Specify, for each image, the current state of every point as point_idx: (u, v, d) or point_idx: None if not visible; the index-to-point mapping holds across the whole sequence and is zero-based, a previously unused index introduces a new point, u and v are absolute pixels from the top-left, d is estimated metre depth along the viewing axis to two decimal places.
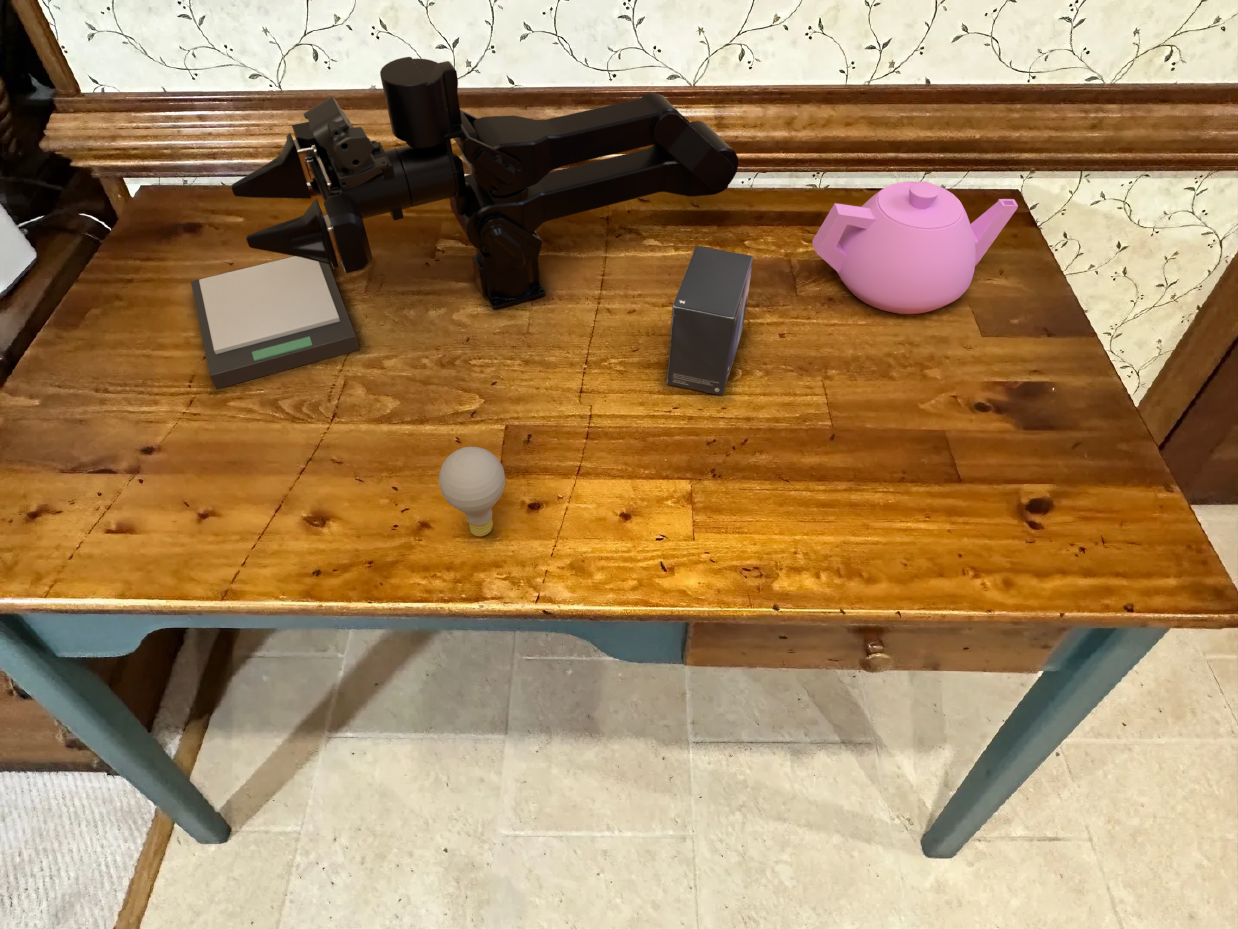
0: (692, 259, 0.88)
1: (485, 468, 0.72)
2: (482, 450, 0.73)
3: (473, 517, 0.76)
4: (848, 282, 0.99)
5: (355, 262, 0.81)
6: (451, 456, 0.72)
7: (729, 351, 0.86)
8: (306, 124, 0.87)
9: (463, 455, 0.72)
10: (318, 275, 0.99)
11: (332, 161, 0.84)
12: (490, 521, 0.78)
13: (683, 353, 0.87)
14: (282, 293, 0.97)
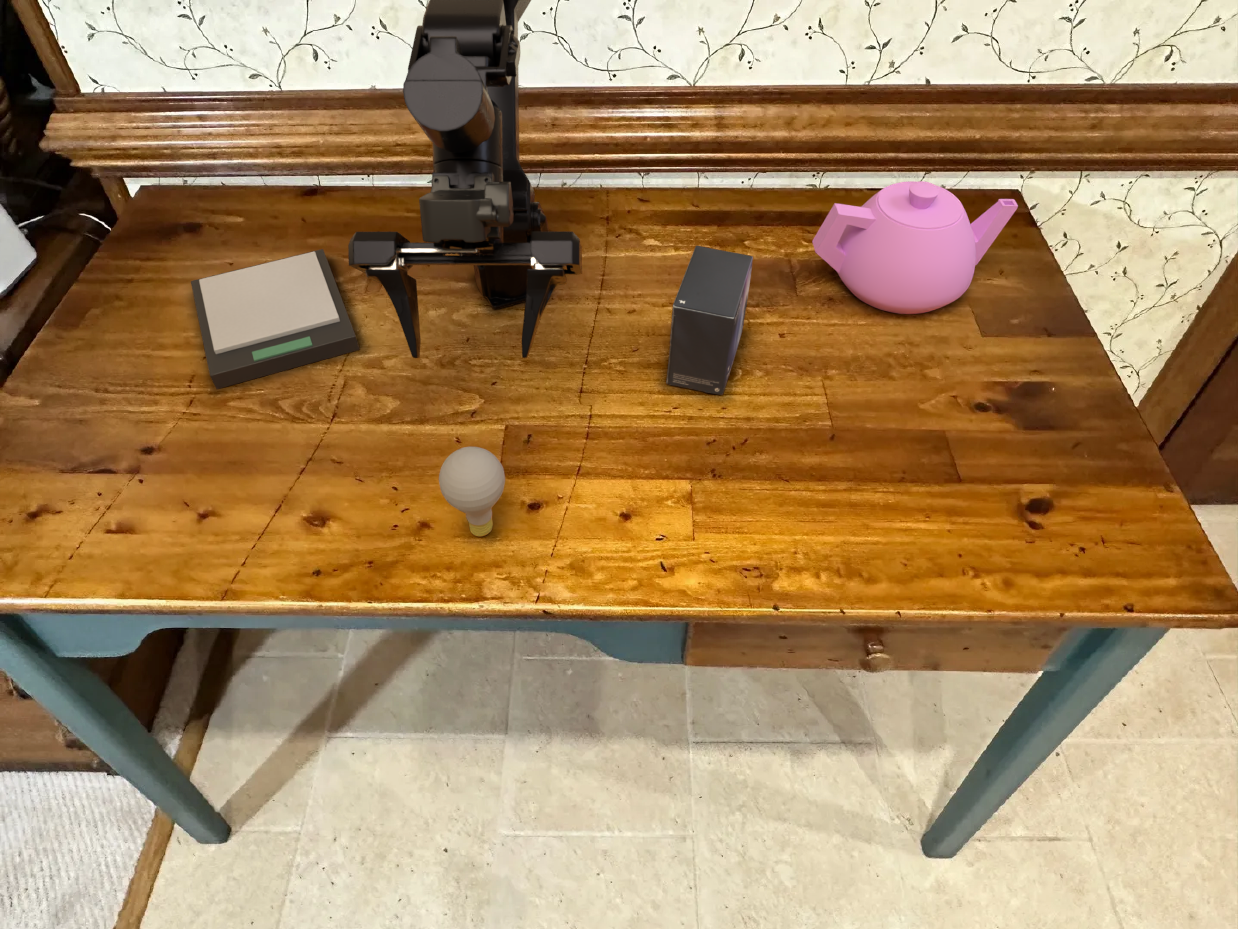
0: (692, 259, 0.88)
1: (485, 468, 0.72)
2: (482, 450, 0.73)
3: (473, 517, 0.76)
4: (848, 282, 0.99)
5: (581, 259, 0.75)
6: (451, 456, 0.72)
7: (729, 351, 0.86)
8: (360, 247, 0.70)
9: (463, 455, 0.72)
10: (318, 275, 0.99)
11: None
12: (490, 521, 0.78)
13: (683, 353, 0.87)
14: (282, 293, 0.97)
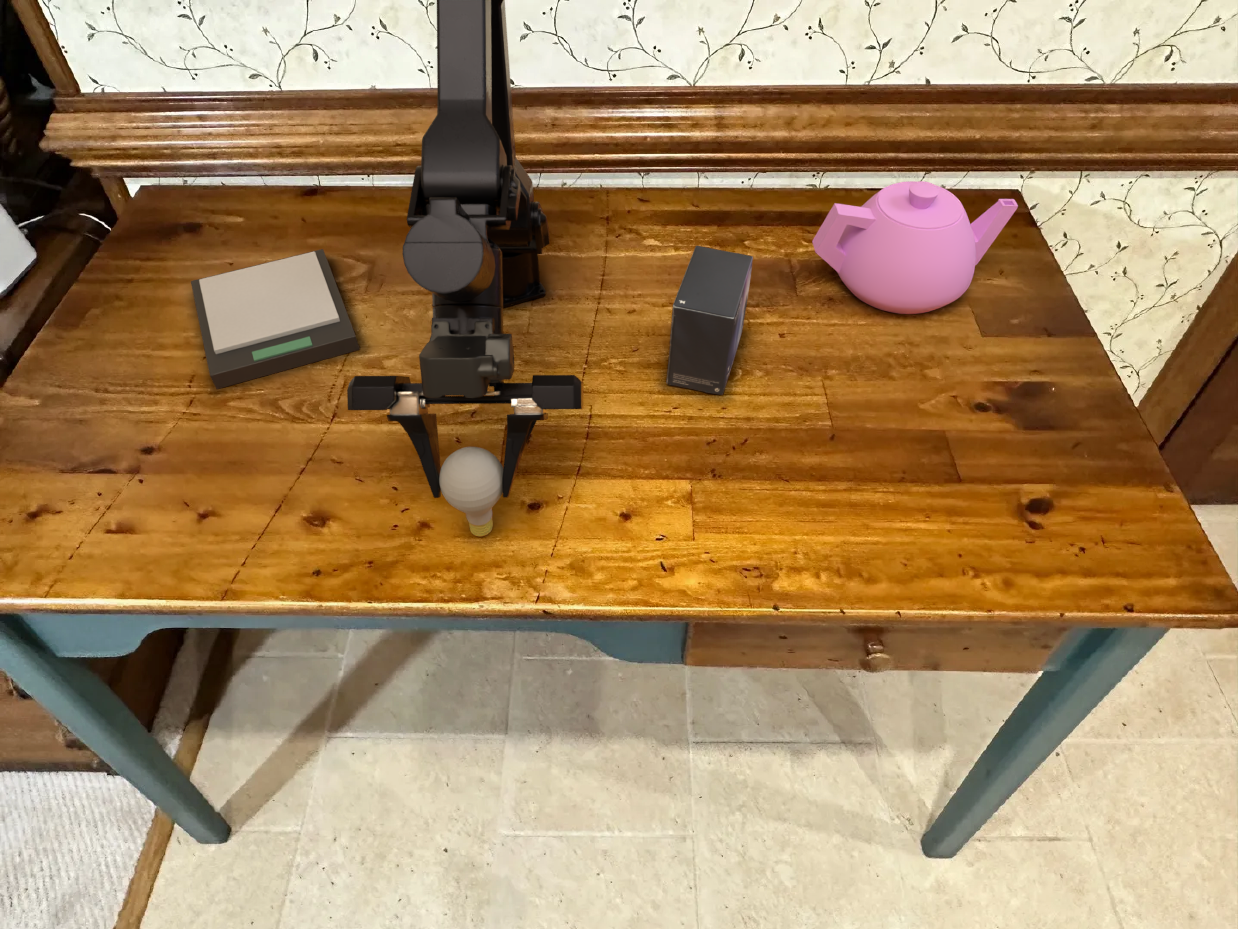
0: (692, 259, 0.88)
1: (485, 468, 0.72)
2: (482, 450, 0.73)
3: (473, 517, 0.76)
4: (848, 282, 0.99)
5: None
6: (451, 456, 0.72)
7: (729, 351, 0.86)
8: (359, 393, 0.70)
9: (463, 455, 0.72)
10: (318, 275, 0.99)
11: None
12: (490, 521, 0.78)
13: (683, 353, 0.87)
14: (282, 293, 0.97)
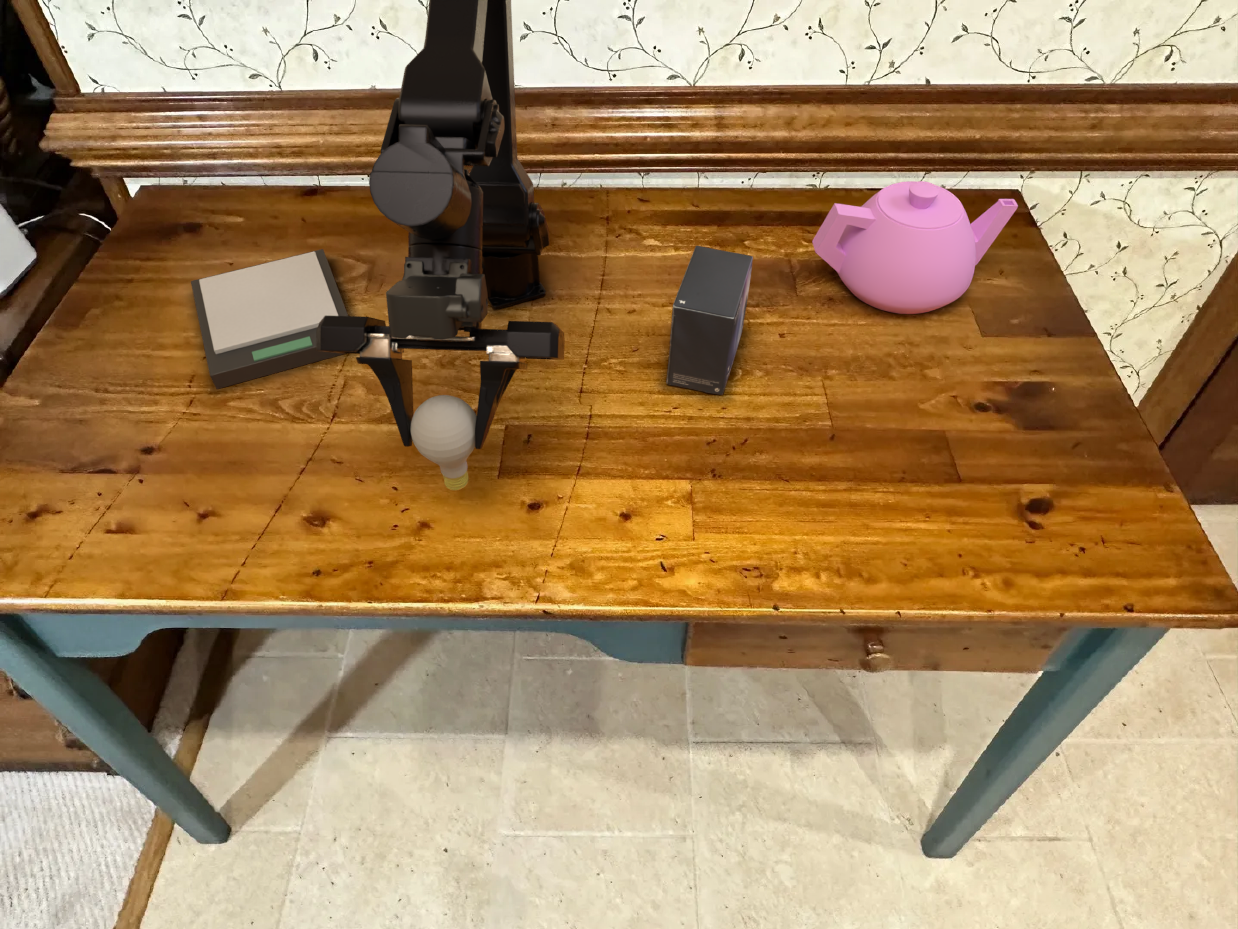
0: (692, 259, 0.88)
1: (457, 417, 0.69)
2: (456, 399, 0.70)
3: (446, 469, 0.73)
4: (848, 282, 0.99)
5: (563, 346, 0.71)
6: (423, 404, 0.70)
7: (729, 351, 0.86)
8: (328, 333, 0.67)
9: (435, 403, 0.69)
10: (318, 275, 0.99)
11: None
12: (465, 475, 0.75)
13: (683, 353, 0.87)
14: (282, 293, 0.97)
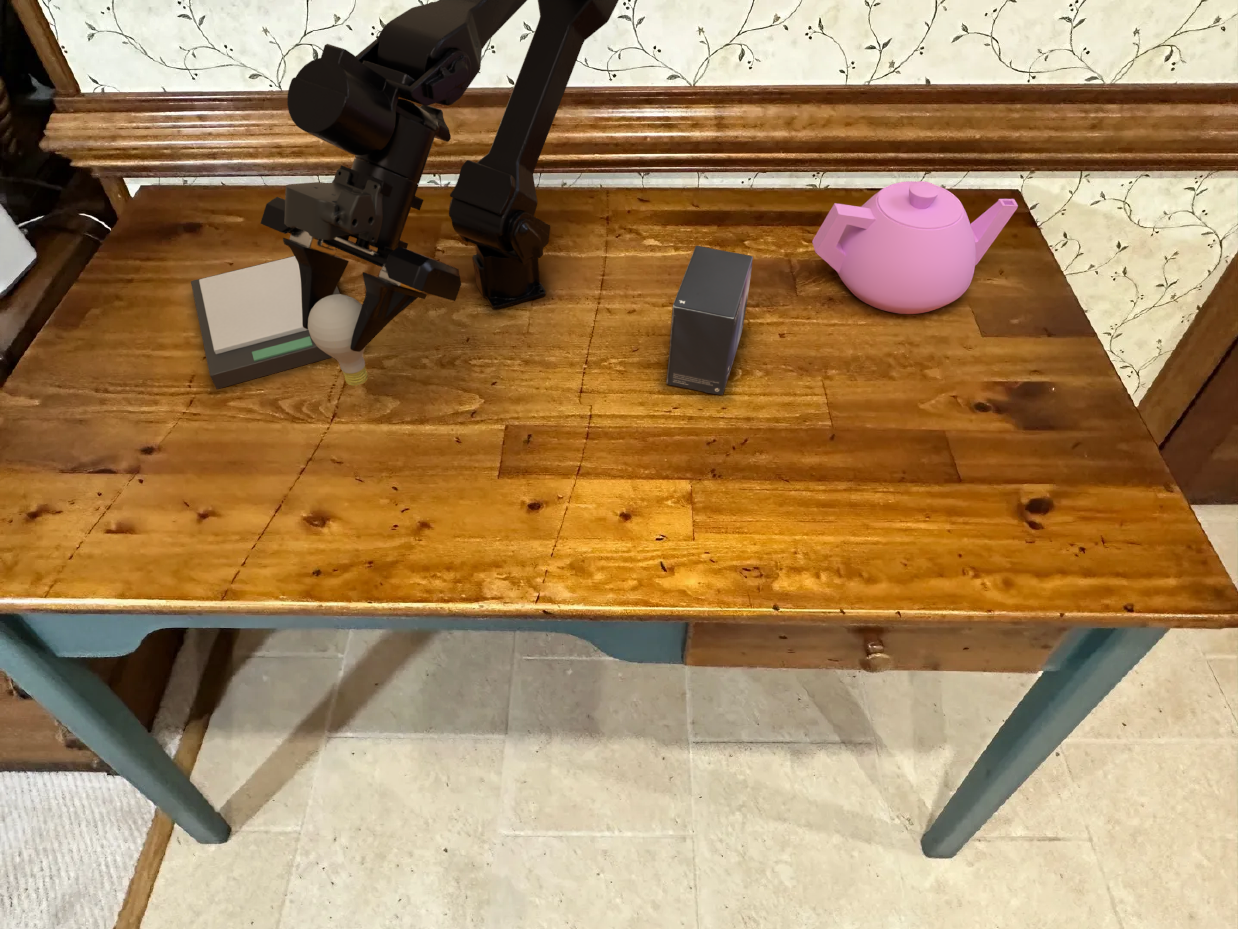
0: (692, 259, 0.88)
1: (340, 315, 0.77)
2: (352, 302, 0.78)
3: (339, 362, 0.82)
4: (848, 282, 0.99)
5: (453, 288, 0.76)
6: (326, 296, 0.79)
7: (729, 351, 0.86)
8: (269, 211, 0.78)
9: (331, 298, 0.78)
10: None
11: None
12: (359, 374, 0.83)
13: (683, 353, 0.87)
14: (282, 293, 0.97)
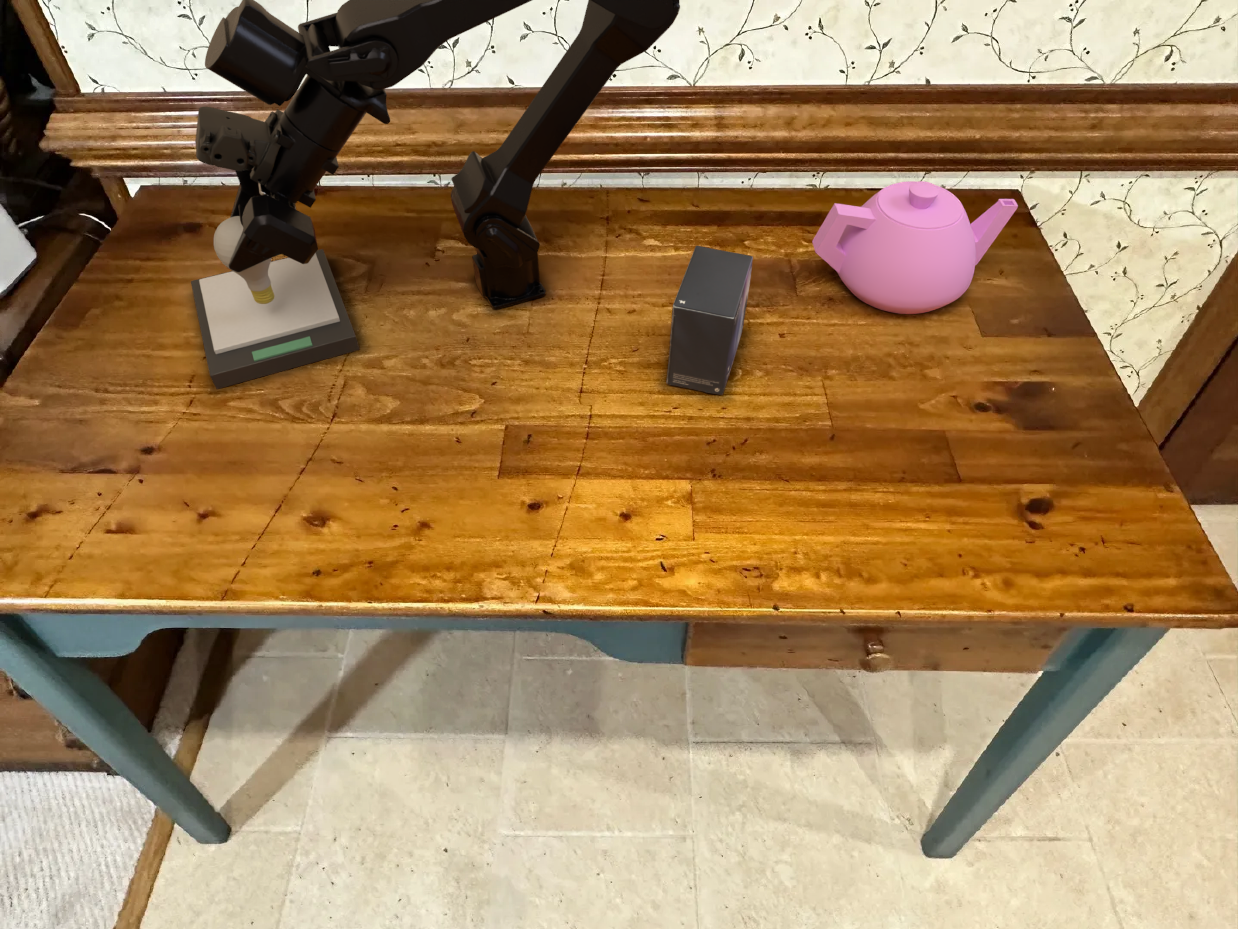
0: (692, 259, 0.88)
1: (229, 234, 0.85)
2: None
3: None
4: (848, 282, 0.99)
5: (300, 251, 0.80)
6: None
7: (729, 351, 0.86)
8: None
9: (237, 218, 0.86)
10: (318, 275, 0.99)
11: None
12: (258, 294, 0.91)
13: (683, 353, 0.87)
14: (282, 293, 0.97)
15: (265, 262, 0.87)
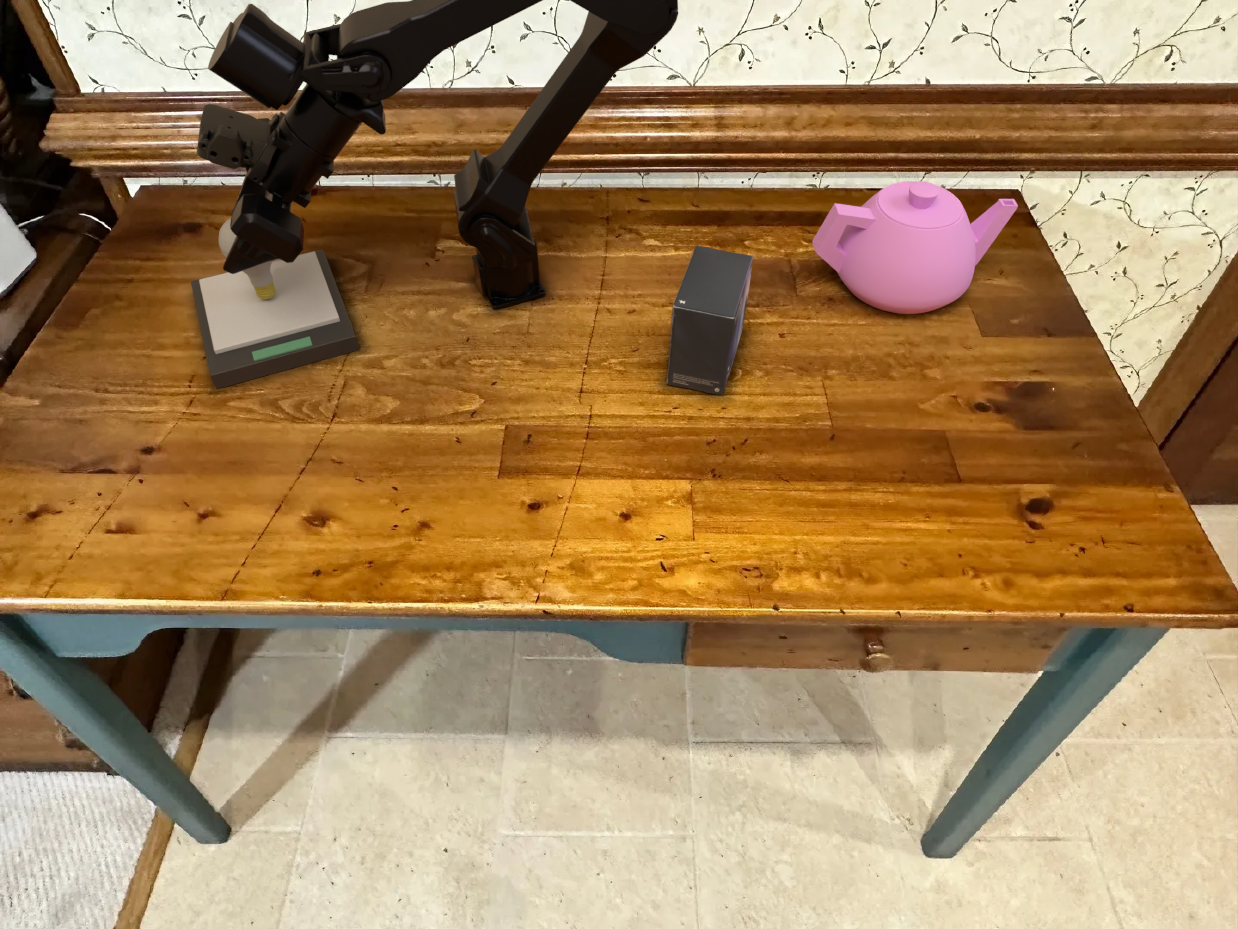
0: (692, 259, 0.88)
1: (231, 232, 0.89)
2: None
3: None
4: (848, 282, 0.99)
5: (284, 250, 0.82)
6: None
7: (729, 351, 0.86)
8: None
9: None
10: (318, 275, 0.99)
11: None
12: (260, 290, 0.95)
13: (683, 353, 0.87)
14: (282, 293, 0.97)
15: None
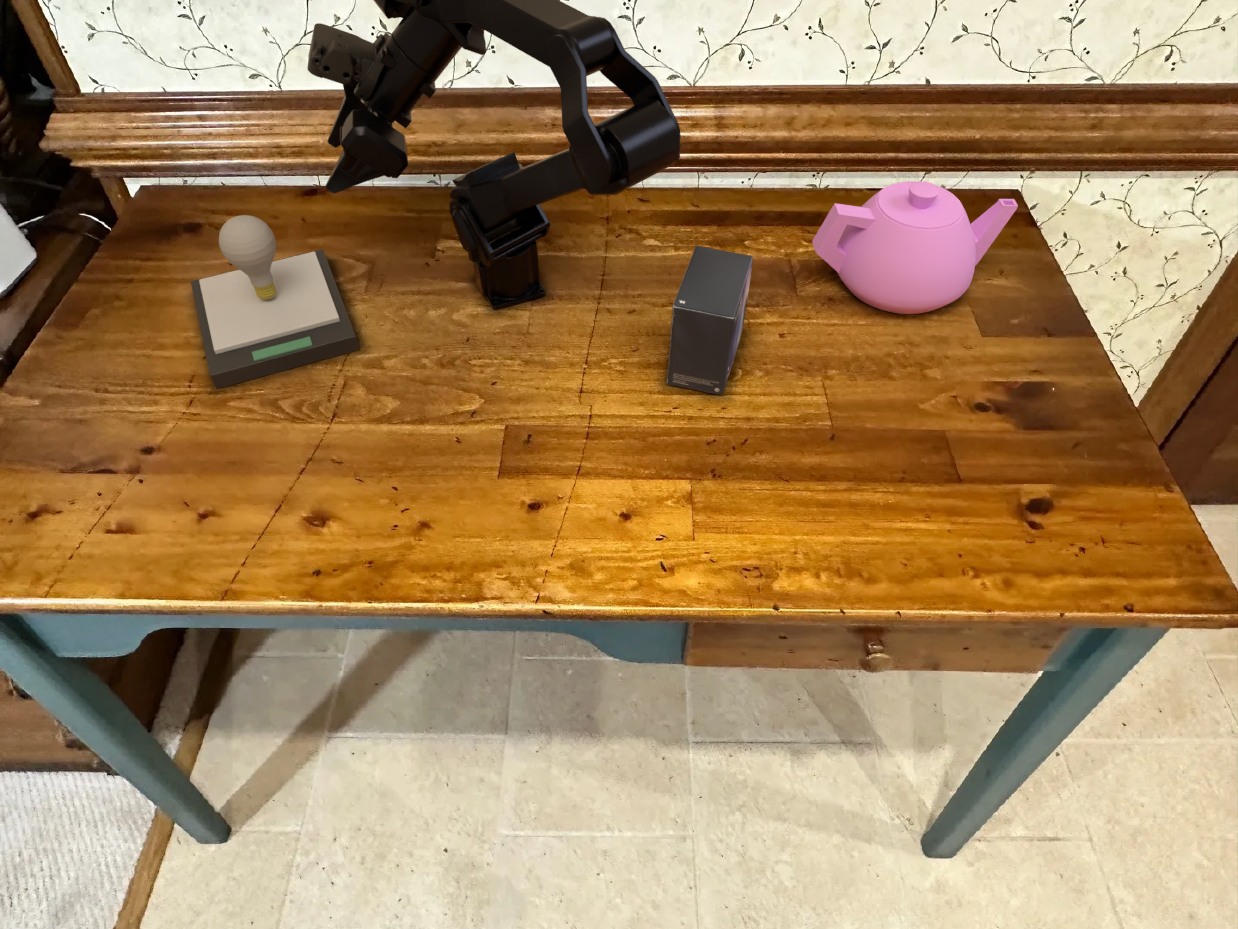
0: (692, 259, 0.88)
1: (232, 233, 0.88)
2: (252, 228, 0.89)
3: None
4: (848, 282, 0.99)
5: (391, 165, 0.85)
6: (248, 215, 0.90)
7: (729, 351, 0.86)
8: None
9: (242, 217, 0.89)
10: (318, 275, 0.99)
11: None
12: (260, 290, 0.95)
13: (683, 353, 0.87)
14: (282, 293, 0.97)
15: (265, 261, 0.91)
